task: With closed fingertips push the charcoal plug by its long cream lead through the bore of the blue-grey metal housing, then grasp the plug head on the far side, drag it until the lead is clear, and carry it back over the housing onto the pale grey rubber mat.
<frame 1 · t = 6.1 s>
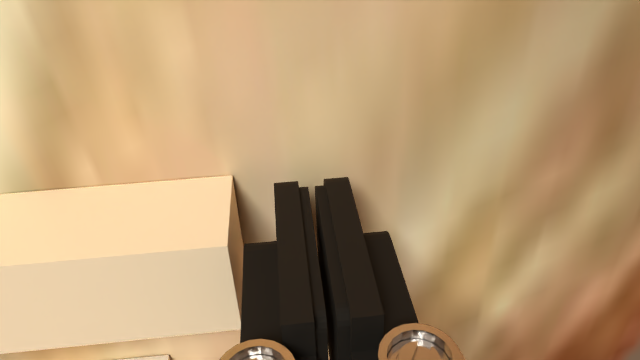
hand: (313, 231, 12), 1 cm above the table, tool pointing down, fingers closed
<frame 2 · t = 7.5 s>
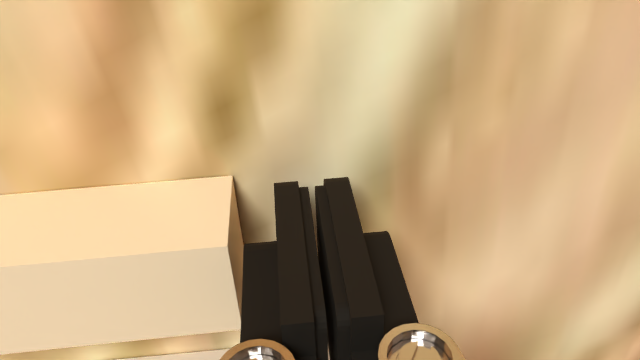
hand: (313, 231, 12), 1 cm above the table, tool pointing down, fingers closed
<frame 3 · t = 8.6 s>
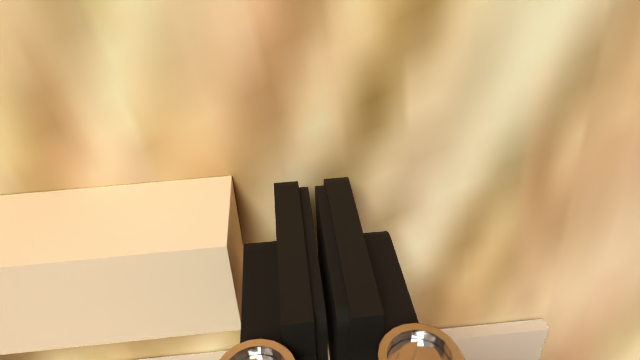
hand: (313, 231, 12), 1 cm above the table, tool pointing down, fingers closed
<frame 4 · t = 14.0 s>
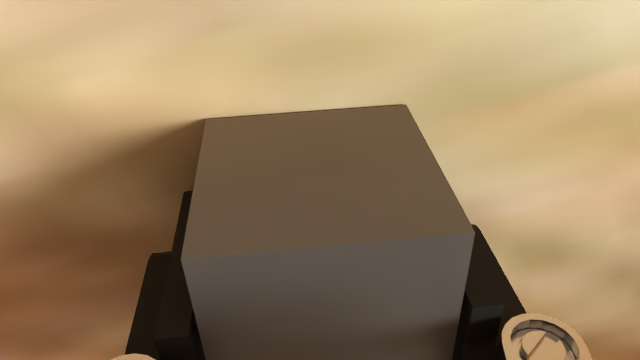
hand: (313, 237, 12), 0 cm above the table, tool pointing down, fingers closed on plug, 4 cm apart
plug: (315, 274, 13), on the table, touching gripper
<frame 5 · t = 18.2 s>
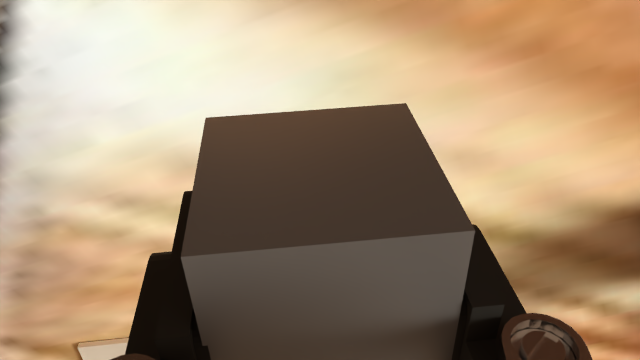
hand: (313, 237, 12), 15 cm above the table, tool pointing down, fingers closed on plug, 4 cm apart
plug: (315, 273, 13), point 14 cm above the table, touching gripper
when the fingers open (2 cm above the table, at t = 22.1 s): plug stays where it is, resting on mat.
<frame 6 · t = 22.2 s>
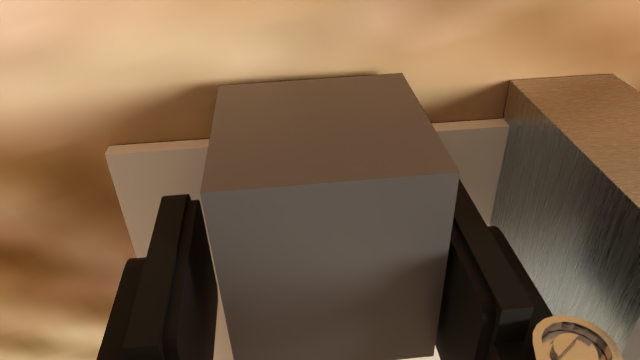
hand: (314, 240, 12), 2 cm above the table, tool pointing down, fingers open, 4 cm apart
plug: (318, 237, 14), resting on mat
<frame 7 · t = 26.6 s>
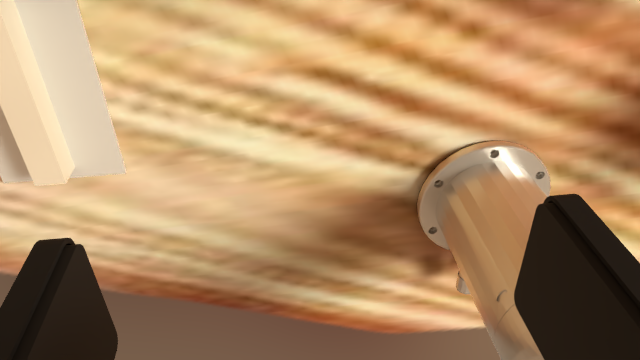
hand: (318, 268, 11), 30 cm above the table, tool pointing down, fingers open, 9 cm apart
mat: (24, 63, 38), on the table
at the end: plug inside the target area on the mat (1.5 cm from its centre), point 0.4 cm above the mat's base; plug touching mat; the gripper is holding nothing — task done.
